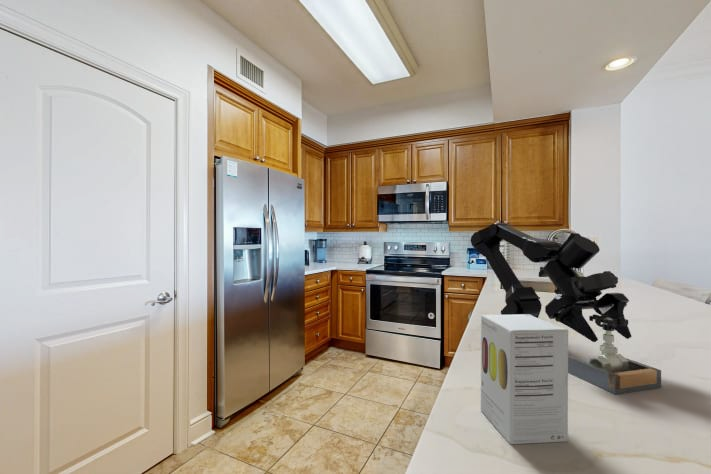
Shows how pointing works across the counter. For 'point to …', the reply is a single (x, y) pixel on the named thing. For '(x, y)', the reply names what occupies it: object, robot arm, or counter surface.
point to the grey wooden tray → (617, 376)
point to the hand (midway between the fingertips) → (613, 339)
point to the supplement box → (525, 378)
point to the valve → (609, 345)
